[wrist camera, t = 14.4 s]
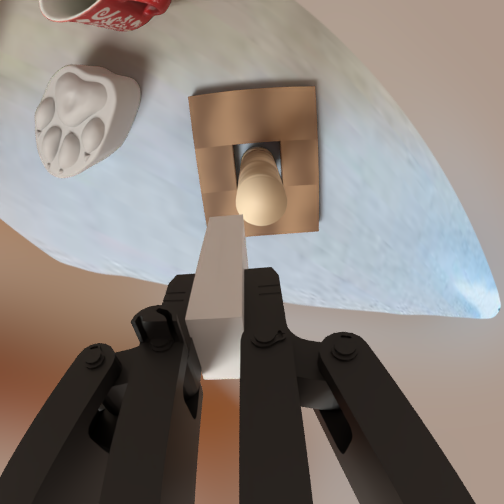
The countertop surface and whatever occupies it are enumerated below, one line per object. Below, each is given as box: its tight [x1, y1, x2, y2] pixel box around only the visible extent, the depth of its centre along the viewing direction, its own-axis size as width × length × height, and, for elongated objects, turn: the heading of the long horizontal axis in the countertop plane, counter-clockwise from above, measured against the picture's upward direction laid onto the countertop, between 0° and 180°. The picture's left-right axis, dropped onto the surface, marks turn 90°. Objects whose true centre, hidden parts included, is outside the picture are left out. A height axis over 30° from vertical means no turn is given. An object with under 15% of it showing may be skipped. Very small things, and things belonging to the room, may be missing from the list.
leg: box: [236, 147, 287, 226], centre depth 29 cm, size 4×4×14 cm
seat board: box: [188, 86, 319, 237], centre depth 34 cm, size 14×18×2 cm
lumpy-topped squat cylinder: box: [35, 65, 141, 178], centre depth 28 cm, size 10×13×9 cm
